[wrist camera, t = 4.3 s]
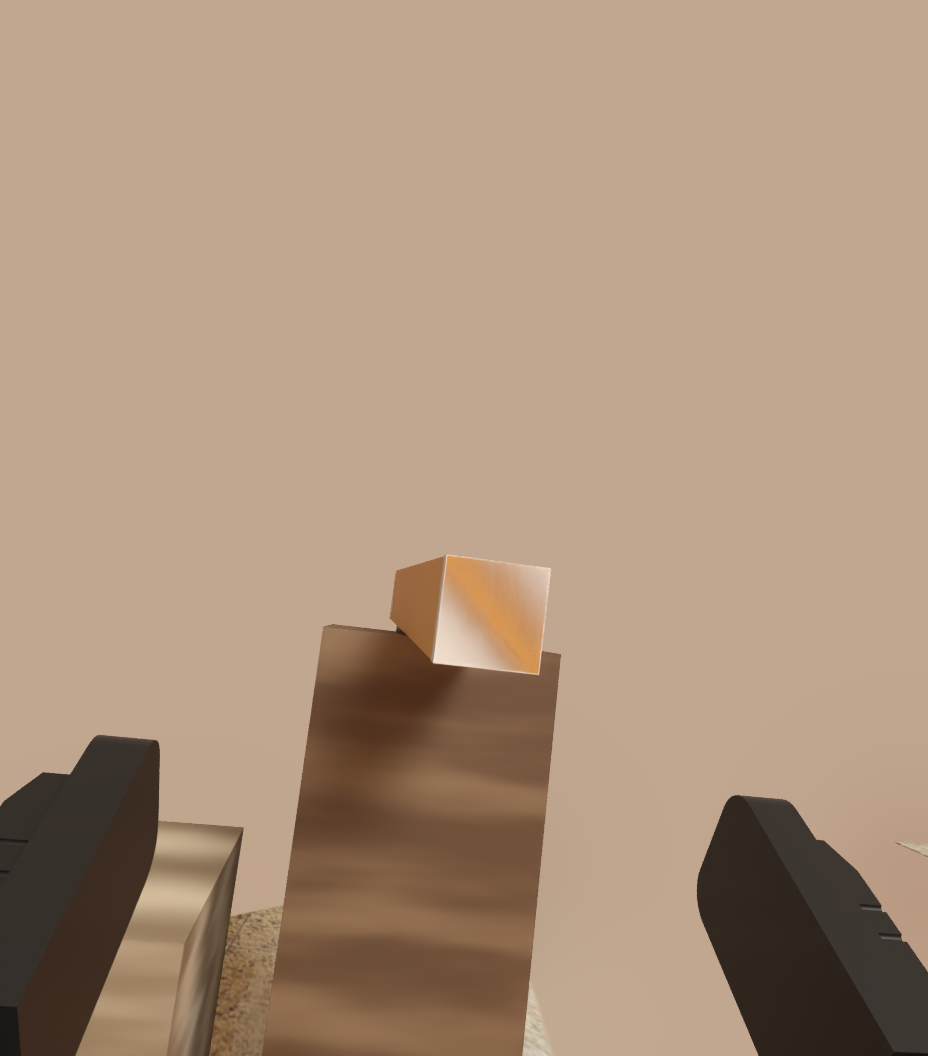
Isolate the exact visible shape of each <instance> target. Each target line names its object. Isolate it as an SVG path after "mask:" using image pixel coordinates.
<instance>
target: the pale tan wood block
mask: <svg viewBox="0 0 928 1056" xmlns="http://www.w3.org/2000/svg"><path fill="white" fill-rule="evenodd" d="M550 572H551V569H550V568H544V567H536V566H529V565H521V564H513V563H506V562H499V561H491V560H483V559H476V558H468V557H461V556H453V555H445V556H444V557H441V558H437V559H434V560H431V561H427V562H424V563H421V564H417V565H414V566H411V567H407V568H404V569H401V570H396V574H395V582H394V589H393V597H392V605H391V612H390V619H391V620H392V621H393V622H394V623H395V624H396V625H397V626H398V627H399V628H400V629H401V630H402V631H403V632H404V633H405V634H406V635H407V636H408V637H409V638H410V639H411V640H412V641H413V642H414V643H415V644H416V645H417V646H418V647H419V648H420V649H421V650H422V651H423V652H424V653H425V654H426V655H427V656H428V657H429V658H430V659H431V662H432V663H437V664H446V665H455V666H464V667H473V668H482V669H490V670H499V671H508V672H517V673H526V674H535V675H539V670H540V661H541V652H542V643H543V634H544V625H545V616H546V607H547V599H548V590H549V580H550Z"/></svg>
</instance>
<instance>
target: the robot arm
mask: <svg viewBox="0 0 928 1056" xmlns="http://www.w3.org/2000/svg"><path fill="white" fill-rule="evenodd" d="M159 767H160V749H159V743H158V741H156V740H148V739H137V738H127V737H115V736H105V735H97V736H96V737H94V739H93V740H92V741H91V742H90V744H89V745H88V747H87V748H86V750H85V752H84V754H83V755H82V756H81V758H80V760H79V761H78V763H77V764H76V766H75V768H74V769H73V771H72V772H71V774H70V775H67V774H55V773H44V772H43V773H42V774H40V775H39V776H38V777H36V778H35V779H33V780H32V781H31V782H29V783H28V784H27V785H25V786H24V787H22V788H21V789H20V790H18V791H17V792H16V793H14V794H13V795H12V796H10V797H9V798H8V799H6V800H5V801H4V802H3V803H2V805H1V806H0V1056H76V1053H77V1051H78V1048H79V1046H80V1043H81V1041H82V1038H83V1036H84V1033H85V1031H86V1028H87V1026H88V1024H89V1021H90V1019H91V1016H92V1014H93V1011H94V1009H95V1006H96V1004H97V1001H98V999H99V996H100V994H101V992H102V989H103V987H104V984H105V982H106V979H107V977H108V974H109V972H110V969H111V967H112V964H113V962H114V959H115V957H116V955H117V952H118V950H119V947H120V945H121V942H122V940H123V937H124V935H125V932H126V930H127V927H128V925H129V923H130V920H131V918H132V915H133V913H134V910H135V908H136V905H137V903H138V900H139V898H140V895H141V893H142V890H143V888H144V886H145V883H146V880H147V878H148V875H149V872H150V869H151V865H152V861H153V857H154V853H155V848H156V842H157V835H158V813H159V810H158V809H159ZM697 882H698V883H697V901H698V908H699V912H700V916H701V919H702V922H703V924H704V927H705V929H706V931H707V934H708V936H709V939H710V941H711V943H712V946H713V948H714V951H715V953H716V955H717V958H718V960H719V962H720V965H721V967H722V969H723V972H724V974H725V977H726V979H727V981H728V984H729V986H730V989H731V991H732V993H733V996H734V998H735V1000H736V1003H737V1005H738V1007H739V1010H740V1012H741V1015H742V1017H743V1019H744V1022H745V1024H746V1026H747V1029H748V1031H749V1034H750V1036H751V1039H752V1041H753V1043H754V1046H755V1048H756V1050H757V1053H758V1055H759V1056H928V972H927V970H926V969H925V967H924V966H923V965H922V963H921V962H920V960H919V959H918V957H917V956H916V954H915V953H914V952H913V950H912V949H911V947H910V946H909V944H908V943H907V942H903V941H902V939H901V935H902V934H901V933H900V931H899V930H898V929H897V927H896V926H895V924H894V923H893V921H892V920H891V918H890V917H889V916H888V914H887V913H886V912H882V910H881V904H880V903H879V901H878V900H877V898H876V897H875V895H874V894H873V893H872V891H871V890H870V888H869V887H868V885H867V884H866V883H865V881H864V880H863V878H862V877H861V876H860V874H859V873H858V871H857V870H856V869H855V868H854V867H852V866H851V865H850V864H849V863H848V862H847V861H846V860H845V859H843V857H841V856H840V855H839V854H838V853H837V852H836V851H835V850H834V849H832V848H831V847H830V846H829V845H828V844H827V843H826V842H825V841H822V840H816V839H815V837H814V836H813V834H812V833H811V831H810V830H809V828H808V827H807V825H806V824H805V822H804V821H803V819H802V818H801V816H800V815H799V813H798V811H797V810H796V809H795V807H794V806H793V805H792V804H791V803H789V802H788V801H786V800H783V799H773V798H761V797H751V796H740V795H735V796H732V797H731V798H730V799H728V801H727V802H726V804H725V806H724V809H723V811H722V814H721V816H720V819H719V822H718V824H717V827H716V829H715V832H714V835H713V837H712V840H711V843H710V845H709V848H708V850H707V853H706V856H705V858H704V861H703V864H702V866H701V869H700V872H699V876H698V881H697Z"/></svg>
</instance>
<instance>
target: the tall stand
mask: <svg viewBox="0 0 928 1056" xmlns="http://www.w3.org/2000/svg"><path fill="white" fill-rule="evenodd" d="M560 658H561V654H556V653H550V652H544V651H542V652H541V661H540V670H539V675H535V674H526V673H517V672H508V671H499V670H490V669H482V668H473V667H464V666H455V665H446V664H437V663H432V662H431V659H430V658H429V657H428V656H427V655H426V654H425V653H424V652H423V651H422V650H421V649H420V648H419V647H418V646H417V645H416V644H415V643H414V642H413V641H412V640H411V639H410V638H409V637H408V636H407V635H406V634H405V633H404V632H403V631H402V630H401V629H400V628H399V627H398V626H397V629H396V632H395V631H386V630H378V629H369V628H360V627H351V626H343V625H335V624H332V625H328V626H325V627H323V633H322V640H321V647H320V654H319V660H318V661H319V662H318V668H317V675H316V682H315V689H314V696H313V703H312V710H311V717H310V724H309V731H308V738H307V745H306V752H305V759H304V766H303V773H302V780H301V787H300V795H299V802H298V809H297V815H296V822H295V829H294V836H293V843H292V850H291V857H290V864H289V871H288V878H287V885H286V892H285V899H284V906H283V913H282V920H281V927H280V934H279V941H278V948H277V955H276V962H275V969H274V976H273V983H272V990H271V997H270V1004H269V1011H268V1018H267V1025H266V1032H265V1039H264V1046H263V1053H262V1056H522V1052H523V1042H524V1031H525V1021H526V1011H527V1000H528V990H529V979H530V969H531V959H532V948H533V938H534V928H535V917H536V907H537V897H538V885H539V876H540V865H541V855H542V844H543V834H544V824H545V813H546V803H547V793H548V781H549V772H550V761H551V751H552V741H553V731H554V720H555V710H556V699H557V689H558V677H559V668H560Z"/></svg>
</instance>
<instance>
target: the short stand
mask: <svg viewBox="0 0 928 1056" xmlns="http://www.w3.org/2000/svg"><path fill="white" fill-rule="evenodd" d="M242 835H243V828H242V827H229V826H216V825H204V824H192V823H179V822H166V821H158V835H157V842H156V848H155V853H154V857H153V861H152V865H151V869H150V872H149V875H148V878H147V880H146V883H145V886H144V888H143V890H142V893H141V895H140V898H139V900H138V903H137V905H136V908H135V910H134V913H133V915H132V918H131V920H130V923H129V925H128V927H127V930H126V932H125V935H124V937H123V940H122V942H121V945H120V947H119V950H118V952H117V955H116V957H115V959H114V962H113V964H112V967H111V969H110V972H109V974H108V977H107V979H106V982H105V984H104V987H103V989H102V992H101V994H100V996H99V999H98V1001H97V1004H96V1006H95V1009H94V1011H93V1014H92V1016H91V1019H90V1021H89V1024H88V1026H87V1028H86V1031H85V1033H84V1036H83V1038H82V1041H81V1043H80V1046H79V1048H78V1051H77V1053H76V1056H209V1052H210V1045H211V1039H212V1032H213V1026H214V1019H215V1012H216V1006H217V999H218V993H219V986H220V980H221V973H222V966H223V960H224V953H225V947H226V940H227V933H228V927H229V920H230V914H231V907H232V900H233V894H234V887H235V881H236V874H237V868H238V861H239V855H240V848H241V841H242Z"/></svg>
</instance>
